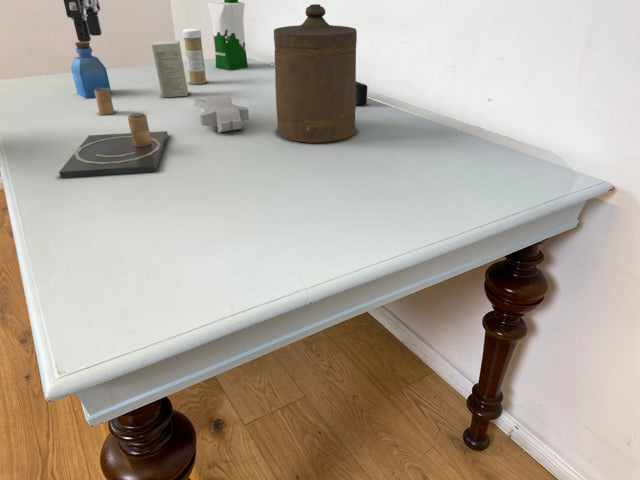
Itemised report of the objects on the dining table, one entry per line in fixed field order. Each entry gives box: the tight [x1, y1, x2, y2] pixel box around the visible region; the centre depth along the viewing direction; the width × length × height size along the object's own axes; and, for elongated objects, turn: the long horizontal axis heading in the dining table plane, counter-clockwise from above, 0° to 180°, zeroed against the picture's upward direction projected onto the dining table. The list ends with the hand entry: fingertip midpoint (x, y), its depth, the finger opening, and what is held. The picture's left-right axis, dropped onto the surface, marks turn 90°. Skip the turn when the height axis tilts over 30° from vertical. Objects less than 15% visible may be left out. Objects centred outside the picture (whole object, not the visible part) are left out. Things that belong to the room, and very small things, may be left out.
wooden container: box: [273, 3, 358, 144], centre depth 87 cm, size 15×15×22 cm
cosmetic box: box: [151, 40, 189, 98], centre depth 115 cm, size 6×4×12 cm
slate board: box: [58, 130, 169, 179], centre depth 82 cm, size 14×18×1 cm
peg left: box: [94, 88, 115, 116], centre depth 103 cm, size 3×3×5 cm
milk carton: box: [207, 0, 249, 71], centre depth 144 cm, size 9×9×20 cm
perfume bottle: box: [70, 41, 113, 99], centre depth 117 cm, size 6×6×12 cm
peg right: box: [127, 112, 151, 147], centre depth 82 cm, size 3×3×5 cm
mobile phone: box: [356, 80, 368, 106], centre depth 112 cm, size 5×3×15 cm
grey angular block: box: [193, 94, 250, 133], centre depth 96 cm, size 10×5×15 cm
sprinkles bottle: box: [182, 28, 207, 85], centre depth 127 cm, size 5×5×13 cm
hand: (90, 38), depth 96 cm, fingers open, 8 cm apart
